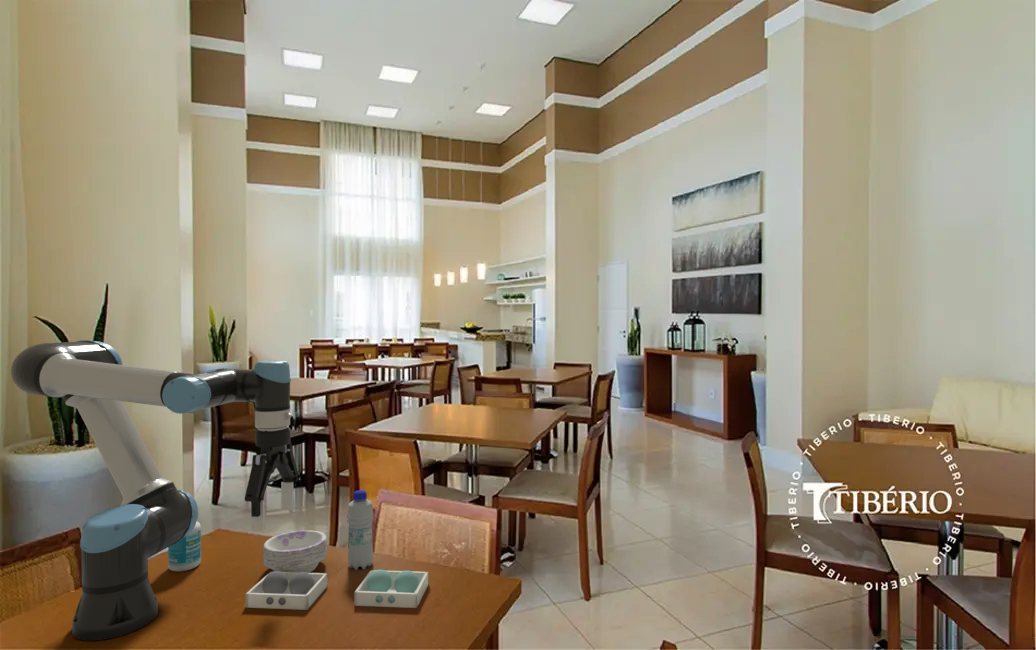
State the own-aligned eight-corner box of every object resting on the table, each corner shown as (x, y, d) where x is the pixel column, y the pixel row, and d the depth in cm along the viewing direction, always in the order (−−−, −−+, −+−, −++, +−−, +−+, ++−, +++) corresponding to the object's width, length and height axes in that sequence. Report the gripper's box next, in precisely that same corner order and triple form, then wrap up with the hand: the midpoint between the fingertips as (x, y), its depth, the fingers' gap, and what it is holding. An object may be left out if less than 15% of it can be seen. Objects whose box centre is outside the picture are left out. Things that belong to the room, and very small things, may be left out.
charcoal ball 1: (258, 601, 132) (257, 577, 132) (270, 589, 138) (269, 566, 137) (281, 601, 132) (280, 577, 132) (292, 590, 137) (291, 567, 137)
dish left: (245, 610, 129) (244, 594, 129) (270, 585, 141) (270, 571, 140) (306, 612, 128) (306, 596, 128) (327, 587, 139) (327, 573, 139)
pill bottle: (190, 572, 148) (190, 520, 147) (161, 572, 148) (161, 520, 148) (206, 560, 155) (206, 510, 155) (179, 560, 155) (178, 510, 155)
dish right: (354, 608, 130) (354, 592, 130) (370, 584, 141) (370, 570, 141) (416, 610, 129) (416, 594, 129) (428, 586, 140) (428, 571, 140)
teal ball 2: (391, 600, 132) (391, 576, 132) (398, 588, 138) (397, 565, 138) (415, 601, 132) (414, 577, 132) (420, 589, 137) (420, 566, 137)
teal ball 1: (363, 599, 133) (363, 575, 133) (371, 587, 138) (371, 565, 138) (387, 600, 132) (387, 576, 132) (394, 588, 138) (394, 565, 138)
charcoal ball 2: (284, 602, 132) (284, 578, 131) (295, 590, 137) (295, 567, 137) (307, 602, 131) (307, 578, 131) (318, 591, 137) (317, 568, 137)
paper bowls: (305, 552, 160) (304, 524, 160) (339, 567, 151) (338, 536, 151) (251, 572, 148) (251, 541, 148) (285, 589, 139) (284, 556, 139)
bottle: (366, 573, 147) (366, 495, 147) (342, 571, 148) (341, 493, 148) (378, 562, 154) (377, 487, 153) (355, 560, 155) (354, 485, 155)
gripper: (260, 439, 121) (261, 540, 122) (312, 418, 146) (312, 501, 146) (226, 439, 122) (227, 539, 122) (283, 417, 147) (283, 501, 147)
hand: (273, 519), depth 134 cm, fingers open, 13 cm apart
